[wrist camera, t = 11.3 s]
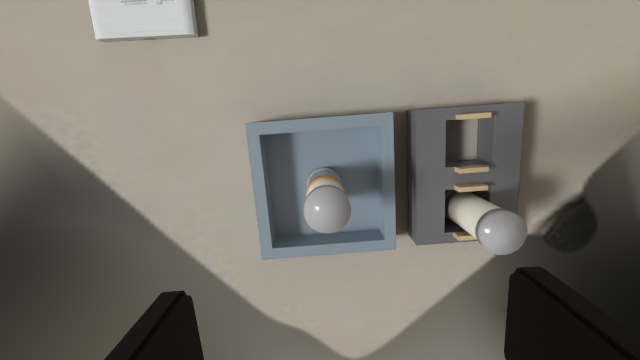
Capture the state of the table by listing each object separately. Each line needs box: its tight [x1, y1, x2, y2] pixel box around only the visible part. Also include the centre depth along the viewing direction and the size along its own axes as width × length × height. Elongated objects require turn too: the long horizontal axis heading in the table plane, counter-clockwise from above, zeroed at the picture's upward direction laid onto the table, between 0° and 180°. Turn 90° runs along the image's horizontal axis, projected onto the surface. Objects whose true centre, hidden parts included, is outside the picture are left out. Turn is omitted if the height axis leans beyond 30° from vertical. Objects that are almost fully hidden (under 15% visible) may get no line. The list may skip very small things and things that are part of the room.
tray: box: [245, 112, 396, 260], centre depth 27 cm, size 12×12×3 cm
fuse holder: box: [407, 102, 525, 245], centre depth 27 cm, size 9×12×4 cm
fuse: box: [445, 189, 527, 255], centre depth 25 cm, size 3×3×8 cm
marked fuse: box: [304, 167, 351, 233], centre depth 24 cm, size 3×3×8 cm
